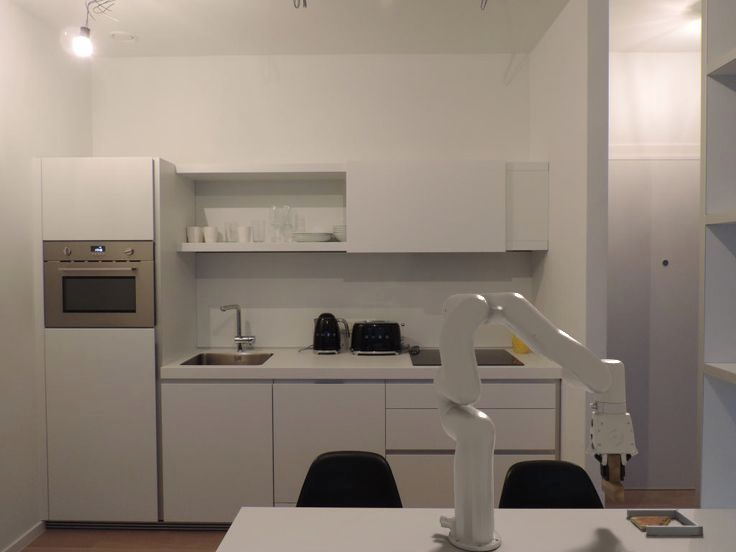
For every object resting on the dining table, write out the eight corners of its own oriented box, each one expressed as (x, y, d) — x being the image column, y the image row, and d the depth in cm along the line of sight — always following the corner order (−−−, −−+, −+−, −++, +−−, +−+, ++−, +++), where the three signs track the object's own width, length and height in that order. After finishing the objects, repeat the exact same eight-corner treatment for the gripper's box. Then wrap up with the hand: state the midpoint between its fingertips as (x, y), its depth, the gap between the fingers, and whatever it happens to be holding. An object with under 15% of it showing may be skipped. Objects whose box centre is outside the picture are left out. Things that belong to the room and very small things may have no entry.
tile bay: (647, 535, 137) (647, 526, 137) (627, 516, 148) (626, 509, 148) (703, 535, 136) (702, 526, 136) (678, 516, 148) (677, 509, 148)
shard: (671, 521, 146) (670, 514, 146) (687, 533, 138) (687, 526, 138) (629, 522, 146) (629, 515, 146) (643, 534, 138) (643, 526, 138)
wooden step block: (613, 502, 139) (612, 458, 139) (600, 489, 147) (600, 448, 147) (625, 502, 139) (624, 458, 139) (612, 489, 147) (611, 448, 147)
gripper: (583, 411, 140) (586, 484, 139) (649, 410, 140) (652, 483, 139) (573, 405, 148) (576, 475, 147) (635, 404, 147) (638, 474, 146)
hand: (612, 478), depth 143 cm, fingers closed on wooden step block, 3 cm apart
